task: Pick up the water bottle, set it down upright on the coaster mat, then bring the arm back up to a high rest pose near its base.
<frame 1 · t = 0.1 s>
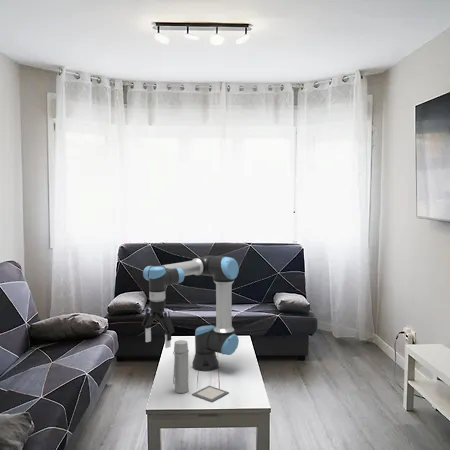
hand: (157, 344, 213), 28 cm above the table, fingers open, 13 cm apart
coaster mat: (210, 394, 224), on the table
water bottle: (180, 391, 227), on the table
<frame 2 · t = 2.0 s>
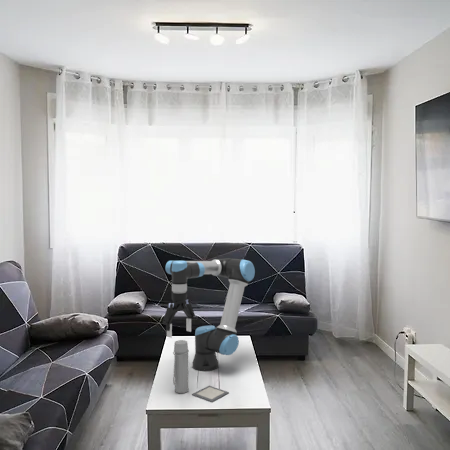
hand: (179, 334, 226), 29 cm above the table, fingers open, 13 cm apart
nothing on the table moved.
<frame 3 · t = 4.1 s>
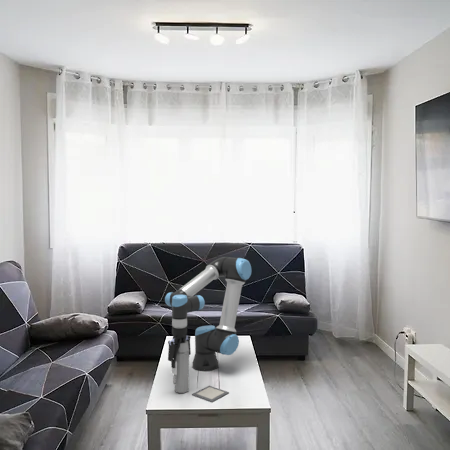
hand: (179, 371, 226), 10 cm above the table, fingers open, 6 cm apart
water bottle: (180, 391, 227), on the table, touching gripper, hand
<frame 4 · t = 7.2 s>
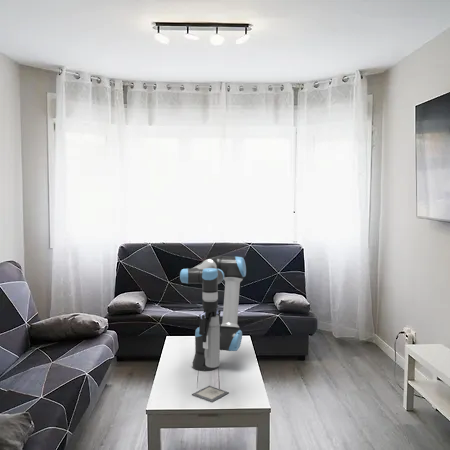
hand: (210, 346, 222), 24 cm above the table
water bottle: (211, 366, 223), point 14 cm above the table, touching gripper, hand
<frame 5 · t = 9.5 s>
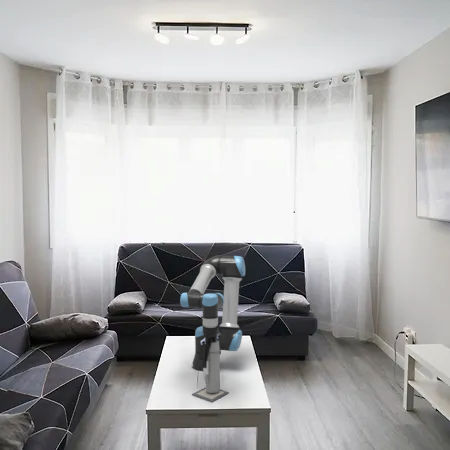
hand: (210, 371, 223), 11 cm above the table
water bottle: (211, 391, 224), point 1 cm above the table, touching gripper, hand
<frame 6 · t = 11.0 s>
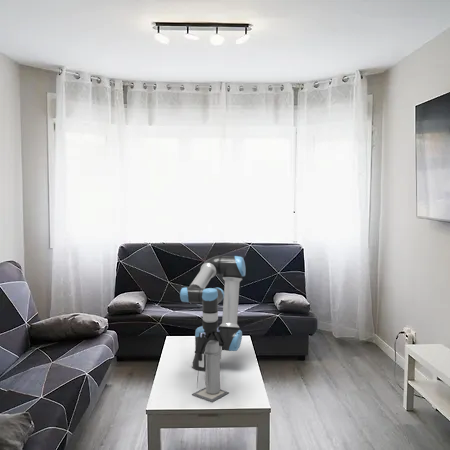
hand: (210, 362, 223), 16 cm above the table, fingers open, 13 cm apart
water bottle: (211, 392, 224), resting on coaster mat
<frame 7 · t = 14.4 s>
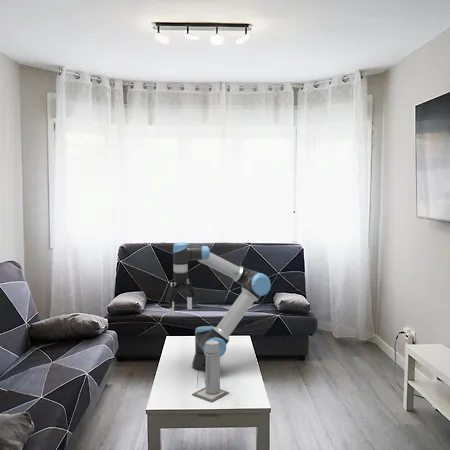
hand: (180, 311, 241), 37 cm above the table, fingers open, 13 cm apart
nothing on the table moved.
at the end: water bottle 0.8 cm from the coaster mat (horizontally); water bottle tilted 0°; the gripper is holding nothing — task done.
